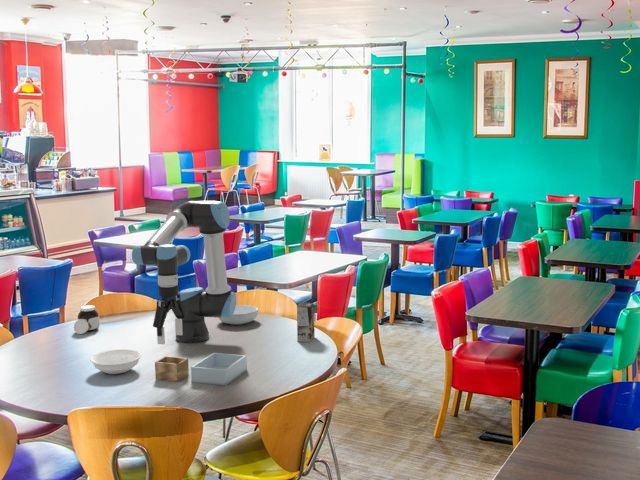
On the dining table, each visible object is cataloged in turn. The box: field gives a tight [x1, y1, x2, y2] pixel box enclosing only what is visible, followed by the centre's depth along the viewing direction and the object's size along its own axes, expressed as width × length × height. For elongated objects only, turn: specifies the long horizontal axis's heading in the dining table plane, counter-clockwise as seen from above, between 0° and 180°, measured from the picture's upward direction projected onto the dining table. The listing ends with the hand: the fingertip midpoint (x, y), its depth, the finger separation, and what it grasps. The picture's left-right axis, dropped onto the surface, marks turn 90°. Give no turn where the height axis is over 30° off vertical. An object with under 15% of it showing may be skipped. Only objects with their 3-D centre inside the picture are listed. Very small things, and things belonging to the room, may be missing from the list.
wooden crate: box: [154, 355, 190, 383], centre depth 296 cm, size 10×8×7 cm
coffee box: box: [296, 302, 316, 343], centre depth 346 cm, size 9×6×16 cm
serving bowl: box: [218, 304, 259, 326], centre depth 378 cm, size 21×21×7 cm
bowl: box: [90, 349, 142, 375], centre depth 304 cm, size 20×20×6 cm
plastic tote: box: [190, 352, 248, 387], centre depth 297 cm, size 14×19×6 cm
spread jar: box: [73, 304, 100, 335], centre depth 365 cm, size 12×11×12 cm
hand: (170, 339), depth 294 cm, fingers open, 13 cm apart
